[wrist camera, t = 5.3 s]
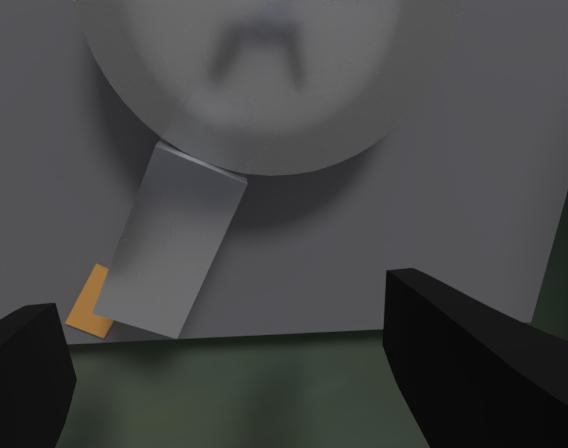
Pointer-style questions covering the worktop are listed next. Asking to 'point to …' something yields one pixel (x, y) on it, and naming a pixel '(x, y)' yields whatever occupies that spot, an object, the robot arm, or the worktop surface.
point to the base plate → (293, 186)
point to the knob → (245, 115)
